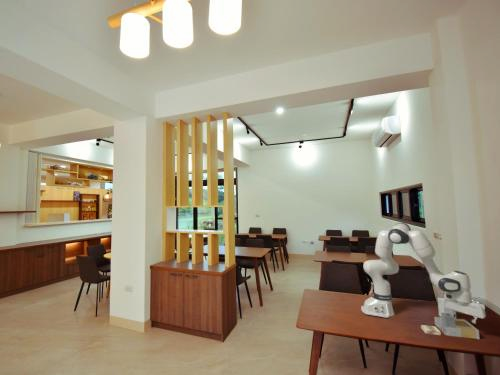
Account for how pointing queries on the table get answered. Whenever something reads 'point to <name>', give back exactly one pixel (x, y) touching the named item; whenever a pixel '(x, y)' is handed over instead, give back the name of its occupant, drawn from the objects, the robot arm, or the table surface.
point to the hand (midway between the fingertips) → (464, 319)
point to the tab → (430, 330)
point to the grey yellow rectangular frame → (457, 328)
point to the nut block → (448, 318)
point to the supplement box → (442, 308)
